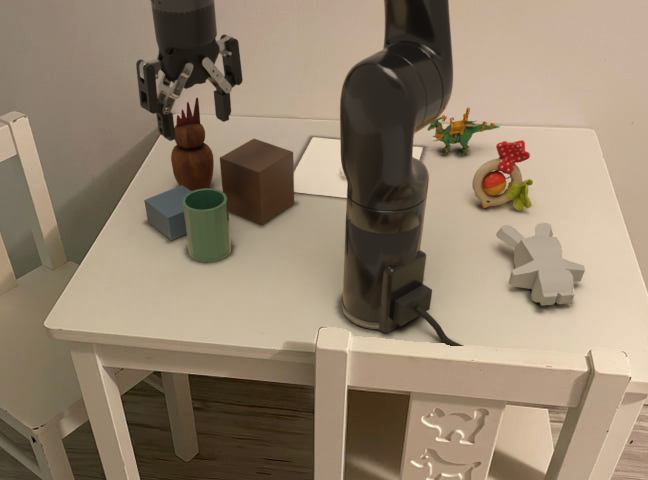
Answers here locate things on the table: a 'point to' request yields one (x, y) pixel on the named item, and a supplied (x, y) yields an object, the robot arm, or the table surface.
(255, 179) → the walnut block
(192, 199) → the cup
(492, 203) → the bird rattle
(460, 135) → the figurine
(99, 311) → the table surface
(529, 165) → the table surface
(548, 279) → the bunny figurine
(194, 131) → the wooden figurine
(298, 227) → the table surface
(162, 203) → the slate block
